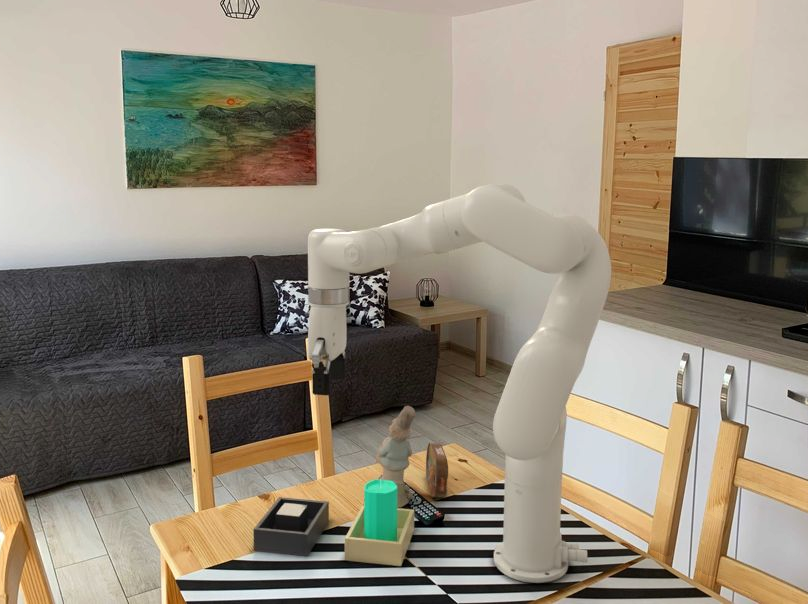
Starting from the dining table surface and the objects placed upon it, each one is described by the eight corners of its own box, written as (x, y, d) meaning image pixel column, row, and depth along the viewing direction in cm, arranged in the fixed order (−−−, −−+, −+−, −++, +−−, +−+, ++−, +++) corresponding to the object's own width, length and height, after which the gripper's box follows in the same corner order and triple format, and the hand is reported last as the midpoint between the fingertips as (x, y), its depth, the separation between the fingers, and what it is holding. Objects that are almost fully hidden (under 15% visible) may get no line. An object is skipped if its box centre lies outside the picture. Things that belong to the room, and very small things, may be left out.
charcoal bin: (328, 521, 135) (328, 501, 135) (307, 556, 123) (307, 534, 123) (279, 516, 137) (279, 496, 136) (253, 550, 125) (253, 529, 124)
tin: (424, 473, 157) (425, 436, 156) (439, 472, 157) (439, 436, 156) (433, 505, 142) (434, 465, 141) (449, 504, 142) (450, 464, 141)
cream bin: (414, 529, 132) (414, 509, 132) (401, 566, 120) (401, 544, 120) (362, 524, 134) (362, 504, 134) (344, 560, 122) (344, 538, 122)
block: (307, 527, 132) (307, 504, 131) (299, 540, 127) (299, 516, 127) (284, 525, 133) (284, 502, 132) (275, 537, 128) (275, 514, 128)
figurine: (420, 506, 142) (421, 409, 139) (380, 513, 138) (380, 414, 136) (403, 487, 150) (404, 395, 147) (365, 494, 147) (365, 400, 144)
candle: (393, 552, 124) (393, 487, 122) (359, 548, 125) (359, 483, 123) (400, 535, 130) (401, 472, 128) (369, 531, 131) (368, 469, 129)
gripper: (323, 287, 140) (324, 372, 142) (293, 304, 123) (294, 399, 125) (360, 289, 138) (360, 374, 141) (335, 306, 122) (335, 402, 124)
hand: (329, 386), depth 133 cm, fingers open, 9 cm apart
